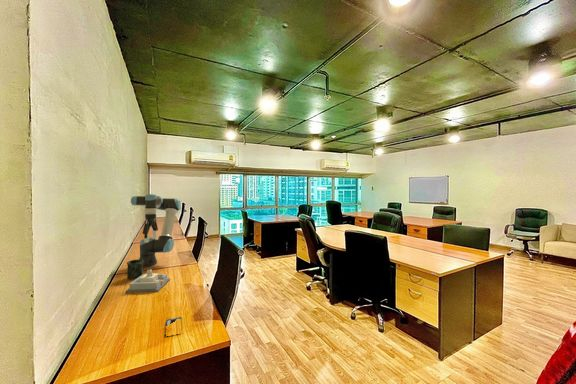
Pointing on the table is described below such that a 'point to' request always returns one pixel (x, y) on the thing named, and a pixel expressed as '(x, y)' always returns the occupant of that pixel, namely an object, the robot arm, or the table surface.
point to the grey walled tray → (148, 285)
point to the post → (149, 272)
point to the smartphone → (172, 320)
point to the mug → (134, 269)
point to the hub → (150, 278)
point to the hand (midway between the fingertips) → (150, 240)
